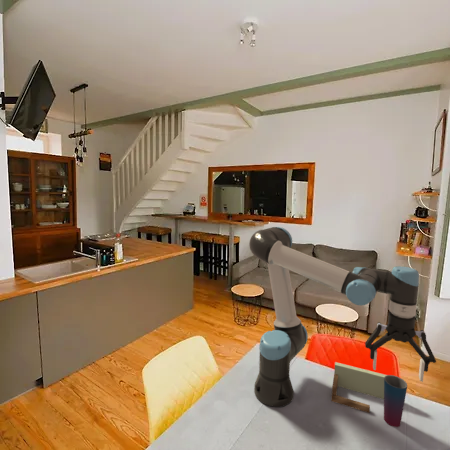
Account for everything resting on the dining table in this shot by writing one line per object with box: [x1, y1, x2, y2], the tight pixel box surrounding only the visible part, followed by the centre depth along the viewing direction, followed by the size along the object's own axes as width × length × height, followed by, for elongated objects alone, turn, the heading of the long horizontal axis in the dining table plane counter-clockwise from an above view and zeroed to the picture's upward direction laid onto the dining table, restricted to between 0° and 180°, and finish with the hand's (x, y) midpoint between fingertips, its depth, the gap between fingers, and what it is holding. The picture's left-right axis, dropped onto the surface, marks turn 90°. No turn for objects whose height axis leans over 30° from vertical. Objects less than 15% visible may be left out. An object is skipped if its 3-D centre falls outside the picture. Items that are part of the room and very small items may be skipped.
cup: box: [383, 374, 408, 428], centre depth 97 cm, size 7×7×15 cm
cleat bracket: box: [330, 373, 371, 414], centre depth 109 cm, size 13×10×5 cm
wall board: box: [333, 361, 388, 400], centre depth 111 cm, size 24×2×9 cm, turn 64°
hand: (396, 373), depth 96 cm, fingers open, 13 cm apart
